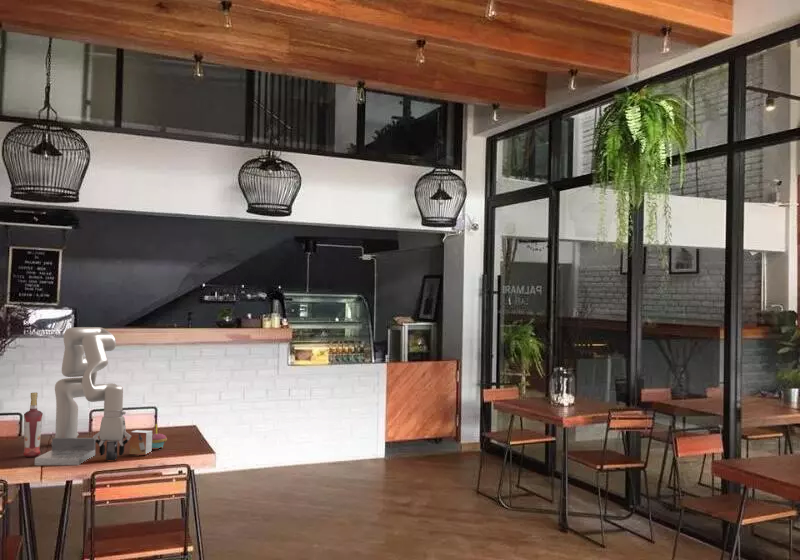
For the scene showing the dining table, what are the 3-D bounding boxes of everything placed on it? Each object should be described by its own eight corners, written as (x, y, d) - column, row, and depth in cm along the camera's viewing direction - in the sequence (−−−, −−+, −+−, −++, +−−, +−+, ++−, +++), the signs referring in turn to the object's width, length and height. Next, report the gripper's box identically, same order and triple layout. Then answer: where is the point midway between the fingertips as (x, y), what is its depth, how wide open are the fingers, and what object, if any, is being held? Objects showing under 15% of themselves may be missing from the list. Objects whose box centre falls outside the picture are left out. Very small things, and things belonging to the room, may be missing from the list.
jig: (53, 455, 299) (54, 437, 300) (95, 455, 301) (95, 437, 301) (34, 465, 281) (35, 446, 282) (78, 465, 283) (79, 446, 283)
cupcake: (144, 448, 317) (145, 423, 318) (161, 446, 323) (162, 421, 324) (152, 451, 311) (153, 425, 312) (169, 448, 317) (170, 423, 318)
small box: (129, 455, 303) (129, 431, 303) (135, 452, 308) (136, 429, 309) (145, 456, 302) (146, 432, 302) (151, 453, 307) (152, 430, 308)
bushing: (108, 458, 295) (108, 440, 296) (118, 458, 296) (119, 440, 296) (104, 461, 291) (105, 442, 291) (114, 461, 291) (115, 442, 292)
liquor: (41, 457, 296) (43, 393, 297) (22, 458, 293) (24, 394, 294) (40, 453, 303) (43, 391, 304) (22, 455, 299) (24, 392, 300)
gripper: (136, 412, 298) (134, 452, 298) (95, 412, 297) (94, 452, 297) (130, 415, 291) (129, 456, 290) (89, 415, 290) (87, 456, 289)
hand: (111, 454), depth 293 cm, fingers open, 7 cm apart
